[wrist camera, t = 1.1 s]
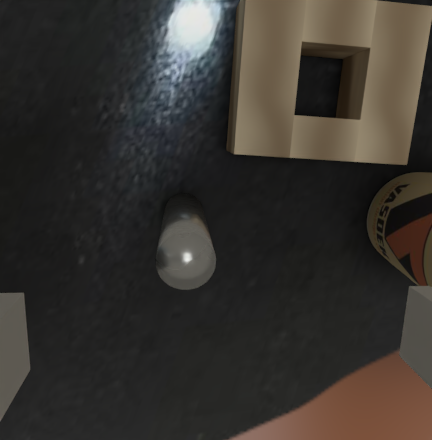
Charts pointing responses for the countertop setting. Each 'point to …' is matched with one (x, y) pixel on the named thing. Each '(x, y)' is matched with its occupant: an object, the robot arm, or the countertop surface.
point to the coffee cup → (404, 225)
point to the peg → (185, 244)
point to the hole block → (349, 83)
